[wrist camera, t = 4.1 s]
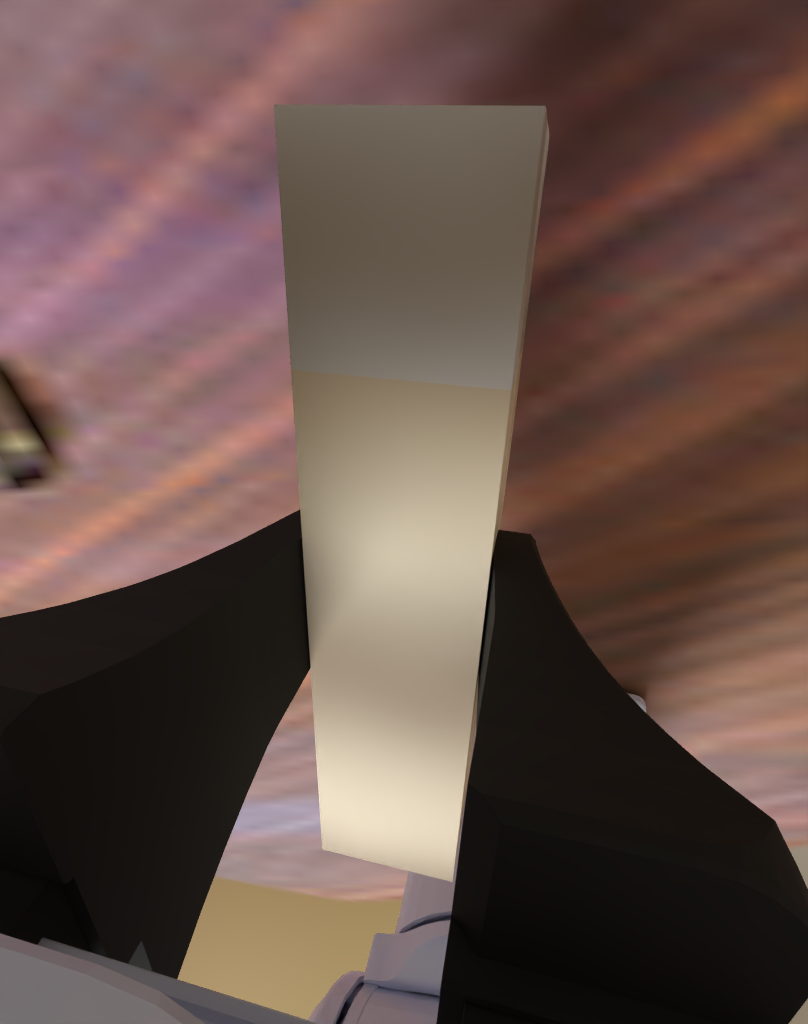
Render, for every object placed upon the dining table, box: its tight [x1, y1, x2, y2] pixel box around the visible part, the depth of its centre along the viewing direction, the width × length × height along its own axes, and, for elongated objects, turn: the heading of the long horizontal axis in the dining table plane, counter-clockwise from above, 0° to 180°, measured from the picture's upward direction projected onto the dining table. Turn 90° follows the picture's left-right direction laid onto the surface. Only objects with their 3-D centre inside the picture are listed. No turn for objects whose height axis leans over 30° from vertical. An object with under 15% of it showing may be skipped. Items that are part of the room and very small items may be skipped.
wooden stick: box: [274, 105, 550, 882], centre depth 11 cm, size 14×3×4 cm, turn 178°
